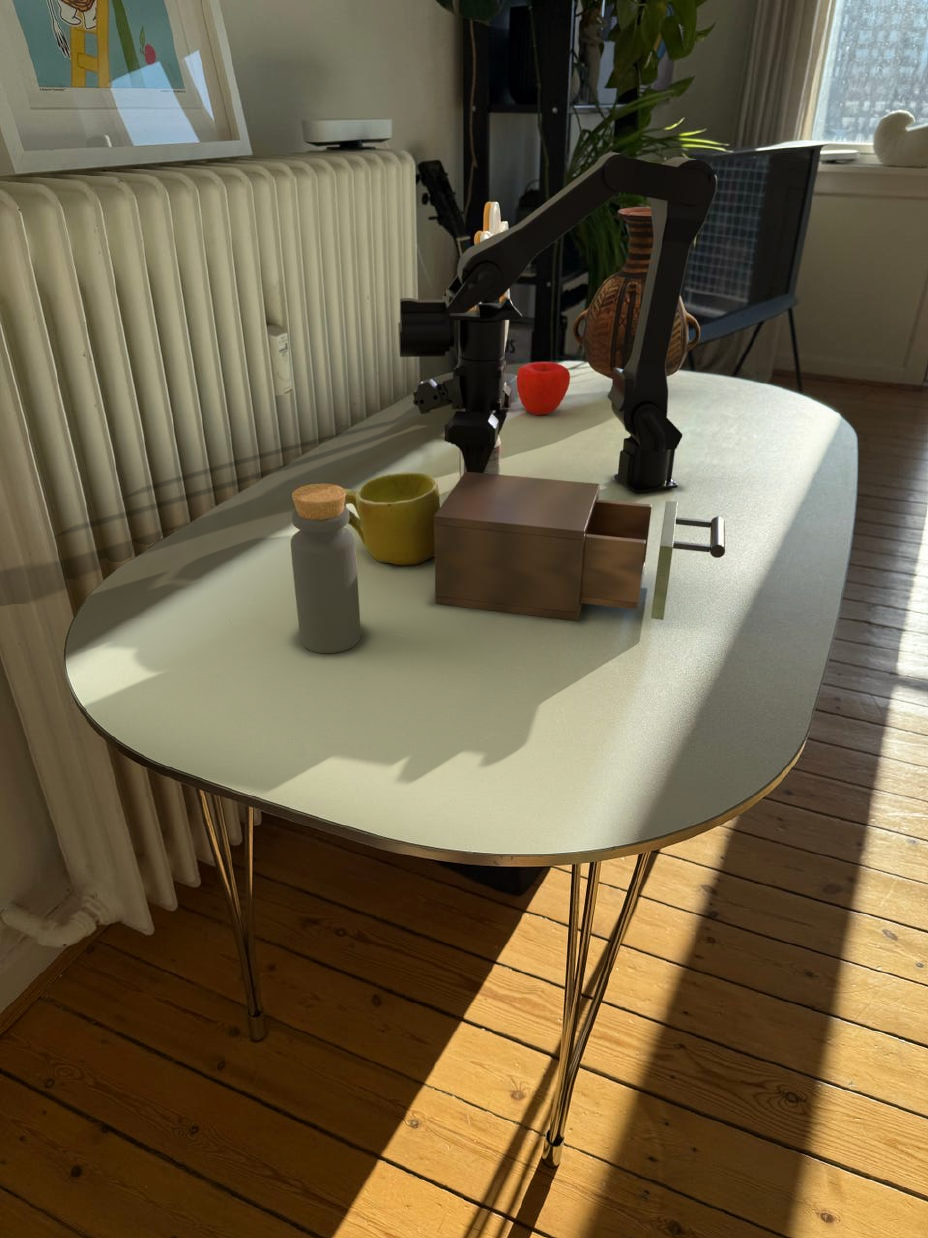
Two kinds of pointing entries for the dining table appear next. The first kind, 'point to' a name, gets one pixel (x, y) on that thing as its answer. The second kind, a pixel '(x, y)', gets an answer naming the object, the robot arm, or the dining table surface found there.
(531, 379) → the apple
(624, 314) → the vase
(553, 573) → the cabinet
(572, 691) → the dining table surface
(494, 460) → the pill bottle
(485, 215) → the white statuette
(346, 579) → the bottle
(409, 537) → the mug
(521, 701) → the dining table surface
